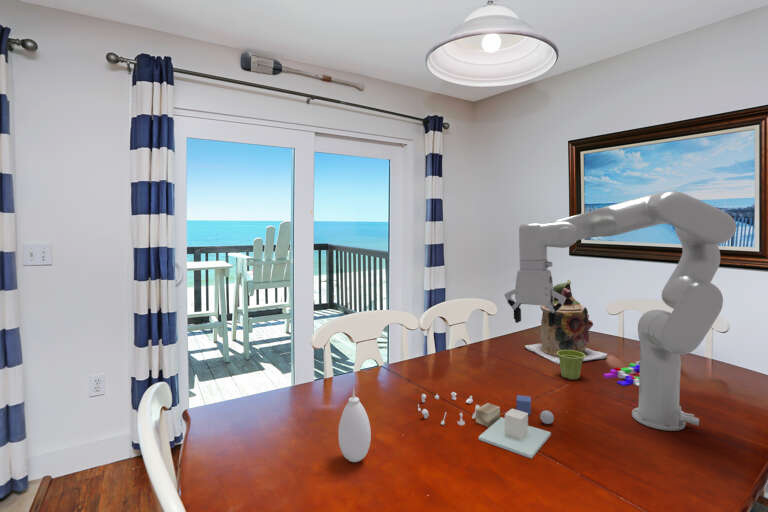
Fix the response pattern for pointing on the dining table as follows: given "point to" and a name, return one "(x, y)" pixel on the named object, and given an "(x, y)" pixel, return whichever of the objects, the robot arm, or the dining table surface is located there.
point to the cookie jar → (565, 329)
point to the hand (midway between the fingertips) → (534, 323)
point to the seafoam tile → (515, 439)
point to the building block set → (626, 374)
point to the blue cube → (524, 404)
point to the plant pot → (570, 363)
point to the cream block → (516, 423)
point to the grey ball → (546, 417)
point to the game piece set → (446, 412)
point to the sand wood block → (487, 414)
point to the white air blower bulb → (354, 430)
